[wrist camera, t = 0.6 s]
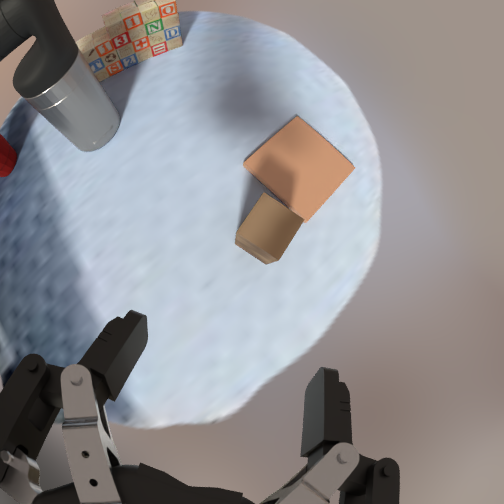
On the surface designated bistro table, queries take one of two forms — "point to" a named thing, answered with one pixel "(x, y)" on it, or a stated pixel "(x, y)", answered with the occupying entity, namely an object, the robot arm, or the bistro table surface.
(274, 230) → the walnut block
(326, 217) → the bistro table surface
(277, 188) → the terracotta tile
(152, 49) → the stack of blocks
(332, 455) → the robot arm
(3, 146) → the plastic cup
